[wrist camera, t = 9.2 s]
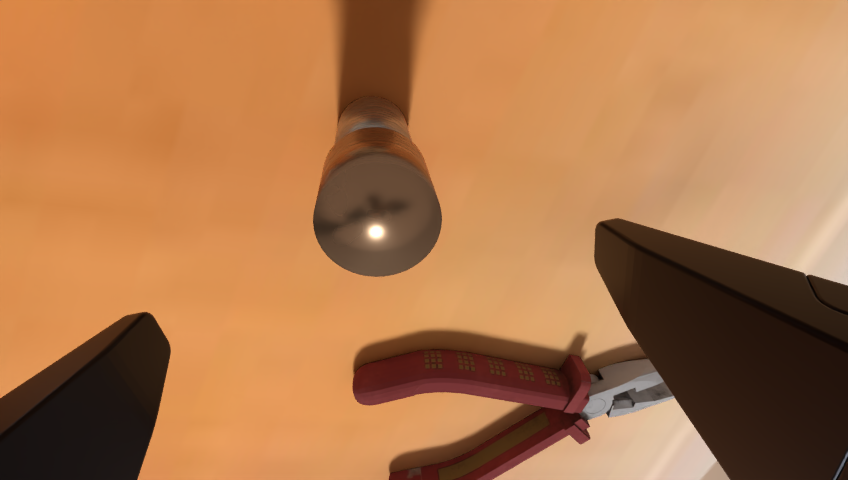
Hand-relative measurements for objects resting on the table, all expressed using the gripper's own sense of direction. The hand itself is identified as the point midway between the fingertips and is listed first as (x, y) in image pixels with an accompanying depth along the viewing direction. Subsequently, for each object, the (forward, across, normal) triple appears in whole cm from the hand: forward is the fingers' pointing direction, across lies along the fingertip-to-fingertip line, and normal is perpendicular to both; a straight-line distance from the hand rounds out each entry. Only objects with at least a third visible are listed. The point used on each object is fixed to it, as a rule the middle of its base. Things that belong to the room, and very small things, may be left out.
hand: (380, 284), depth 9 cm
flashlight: (+11, 0, 0) cm, 11 cm away
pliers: (+11, -5, +19) cm, 23 cm away
